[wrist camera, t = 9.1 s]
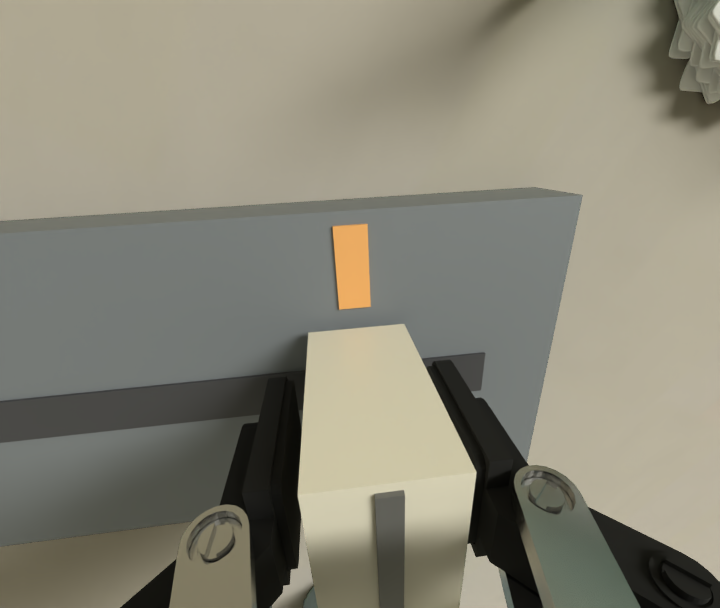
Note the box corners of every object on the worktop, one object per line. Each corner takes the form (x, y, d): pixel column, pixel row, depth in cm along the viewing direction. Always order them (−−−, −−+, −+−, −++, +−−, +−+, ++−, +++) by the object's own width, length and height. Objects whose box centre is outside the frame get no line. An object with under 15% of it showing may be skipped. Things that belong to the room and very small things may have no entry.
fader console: (-427, 248, 10) (-653, 277, 8) (535, 187, 12) (584, 195, 10) (-159, 514, 15) (-247, 581, 13) (496, 435, 17) (524, 479, 15)
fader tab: (308, 332, 11) (297, 500, 5) (404, 323, 11) (478, 477, 6) (323, 451, 13) (325, 655, 8) (403, 442, 13) (458, 632, 8)
